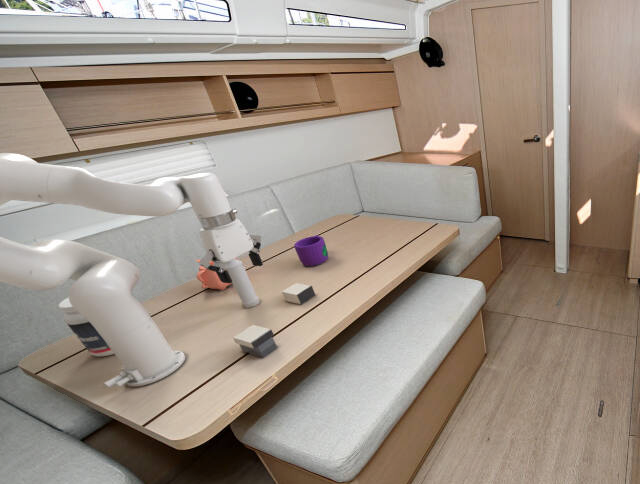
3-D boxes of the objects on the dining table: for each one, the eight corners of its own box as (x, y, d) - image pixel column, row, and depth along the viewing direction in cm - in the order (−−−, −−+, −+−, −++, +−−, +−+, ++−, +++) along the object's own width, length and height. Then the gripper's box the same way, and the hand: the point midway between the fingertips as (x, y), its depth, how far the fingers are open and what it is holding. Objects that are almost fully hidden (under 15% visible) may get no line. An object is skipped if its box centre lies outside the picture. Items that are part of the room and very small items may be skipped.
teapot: (207, 281, 144) (195, 258, 140) (248, 271, 150) (237, 249, 145) (197, 298, 133) (183, 273, 128) (242, 287, 138) (230, 263, 133)
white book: (254, 348, 98) (251, 343, 97) (235, 343, 101) (232, 337, 100) (274, 335, 103) (271, 329, 102) (255, 329, 106) (253, 324, 105)
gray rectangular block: (263, 357, 101) (258, 347, 99) (242, 351, 104) (237, 340, 102) (277, 347, 104) (272, 337, 102) (257, 341, 107) (251, 331, 106)
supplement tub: (81, 357, 106) (40, 308, 98) (128, 329, 118) (96, 283, 110) (113, 360, 104) (75, 310, 96) (159, 331, 115) (128, 284, 107)
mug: (325, 266, 149) (318, 245, 145) (297, 269, 148) (289, 248, 144) (337, 248, 165) (330, 228, 160) (311, 251, 164) (304, 232, 159)
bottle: (251, 308, 124) (220, 245, 113) (239, 307, 125) (208, 245, 114) (263, 300, 128) (235, 238, 117) (252, 299, 129) (222, 238, 118)
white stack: (301, 304, 124) (297, 295, 122) (285, 300, 127) (281, 291, 125) (315, 295, 129) (312, 285, 127) (299, 291, 132) (296, 282, 130)
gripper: (237, 207, 103) (259, 258, 111) (173, 231, 89) (204, 288, 96) (257, 208, 101) (278, 260, 109) (194, 233, 87) (224, 291, 94)
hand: (243, 273), depth 102 cm, fingers open, 9 cm apart
